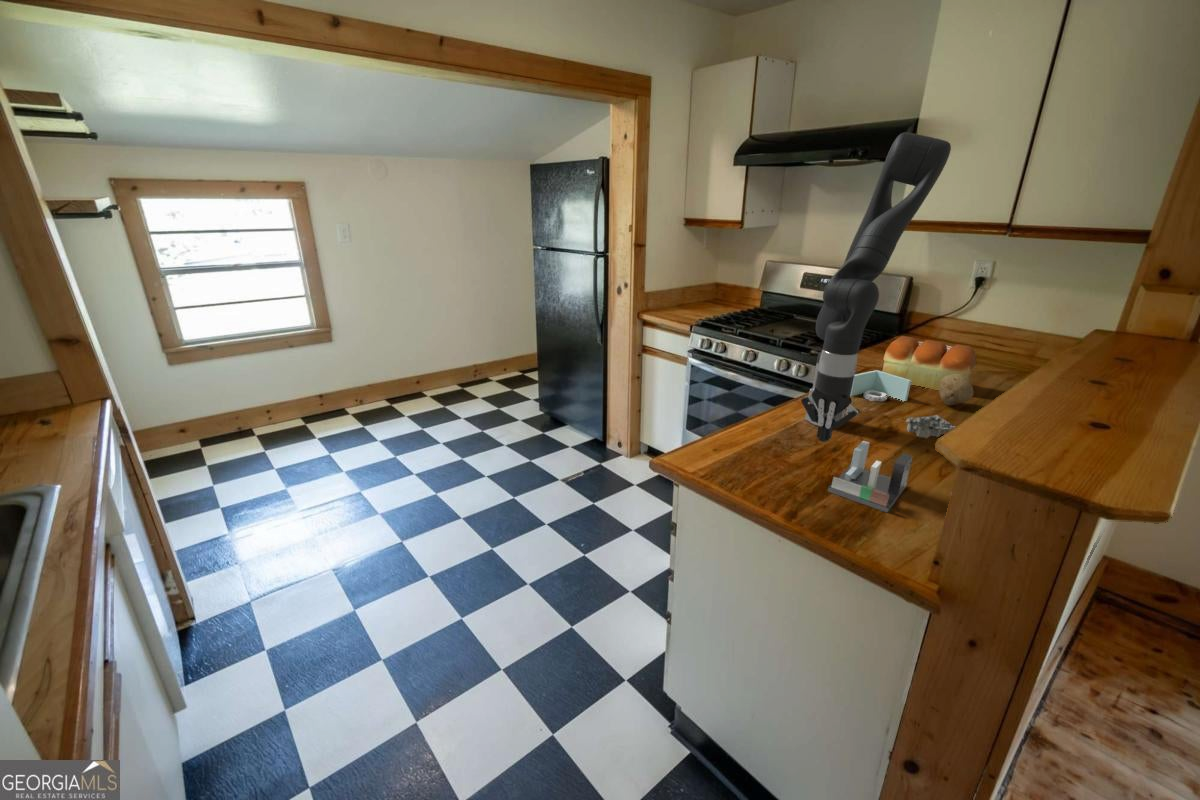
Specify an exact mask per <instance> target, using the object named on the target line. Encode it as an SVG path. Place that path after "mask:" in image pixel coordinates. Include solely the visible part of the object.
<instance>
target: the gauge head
mask: <svg viewBox="0 0 1200 800" xmlns="http://www.w3.org/2000/svg"><path fill="white" fill-rule="evenodd" d="M870 442H871V441H866V440H862V441H861V442H860V443H859V444H858V445H857V446H856V447H855V448H854V449H853V453H852V458H851V463H850V465H851V467H850V470H849V471H848V472H847V473H846V474H845V480H848V481H850V480H851V479H856V478H857V477H858V476H859V475H860V473H861V472H862V471H863V470H864V469H865V466H866V461H867V456H868V453H869V448H870Z"/></svg>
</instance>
